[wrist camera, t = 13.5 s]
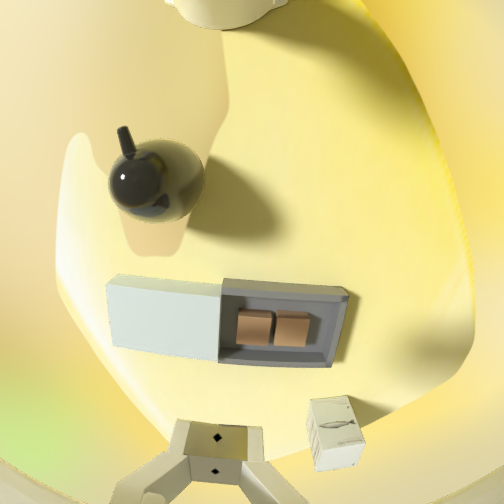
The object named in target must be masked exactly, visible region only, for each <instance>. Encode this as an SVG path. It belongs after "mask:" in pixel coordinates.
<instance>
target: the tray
mask: <svg viewBox="0 0 504 504" xmlns="http://www.w3.org/2000/svg"><path fill="white" fill-rule="evenodd" d="M221 294H223V296H222V314H221V334H220V349H219V355H218V363H223V364H235V365H249V366H266V367H294V368H331V367H332V363H333V360H334V356H335V352H336V348H337V345H338V341H339V337H340V333H341V329H342V324H343V320H344V316H345V311H346V307H347V302H348V298H349V295H348V294H347V293H346V292H345V290H344V289H343V288H342V287H339V286H322V285H307V284H292V283H278V282H265V281H252V280H240V279H228V278H224V280H223V284H222V289H221ZM239 308H247V309H259V310H271V316H272V321H271V328H270V335H269V342H268V346H260V345H246V344H236V337H237V325H238V314H239ZM276 310H286V311H302V312H307V313H308V315H309V318H310V324H309V328H308V333H307V338H306V343H305V347H295V346H274V344H273V330H274V323H275V316H276Z"/></svg>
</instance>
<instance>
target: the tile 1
mask: <svg viewBox="0 0 504 504" xmlns="http://www.w3.org/2000/svg"><path fill="white" fill-rule="evenodd" d="M271 321H272V316H271V310H259V309H247V308H239V314H238V325H237V337H236V344H246V345H260V346H268V342H269V335H270V328H271Z"/></svg>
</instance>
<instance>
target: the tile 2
mask: <svg viewBox="0 0 504 504" xmlns="http://www.w3.org/2000/svg"><path fill="white" fill-rule="evenodd" d="M309 324H310V318H309V315H308V313H307V312H302V311H286V310H276V316H275V323H274V330H273V344H274V346H295V347H305V343H306V338H307V333H308V328H309Z"/></svg>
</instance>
